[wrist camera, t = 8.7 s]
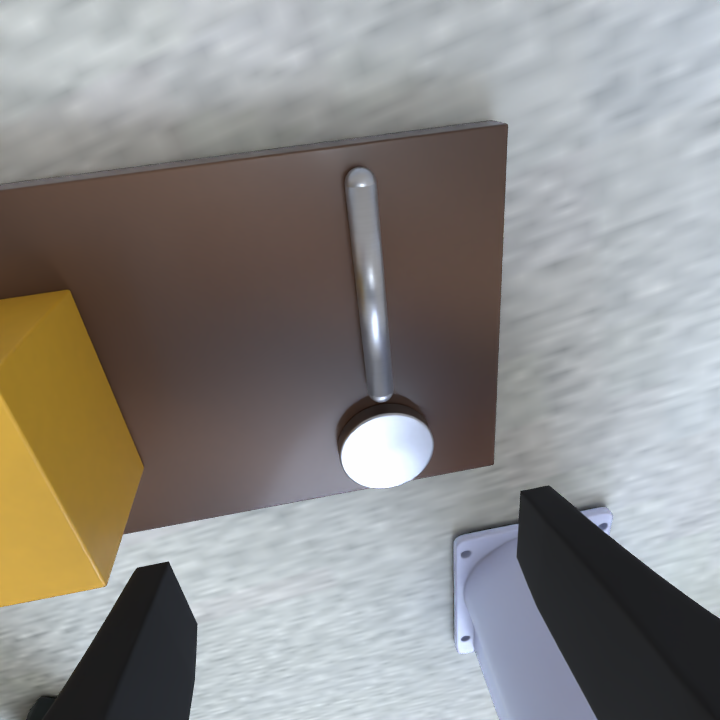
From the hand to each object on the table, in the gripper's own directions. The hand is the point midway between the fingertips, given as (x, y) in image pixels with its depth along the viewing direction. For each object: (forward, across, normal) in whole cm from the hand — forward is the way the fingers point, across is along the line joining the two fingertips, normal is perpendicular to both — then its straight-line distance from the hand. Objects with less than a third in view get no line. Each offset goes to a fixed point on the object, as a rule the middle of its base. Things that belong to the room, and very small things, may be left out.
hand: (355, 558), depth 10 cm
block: (+8, +9, 0) cm, 12 cm away
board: (+9, +4, 0) cm, 10 cm away
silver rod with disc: (+8, -2, +1) cm, 8 cm away
